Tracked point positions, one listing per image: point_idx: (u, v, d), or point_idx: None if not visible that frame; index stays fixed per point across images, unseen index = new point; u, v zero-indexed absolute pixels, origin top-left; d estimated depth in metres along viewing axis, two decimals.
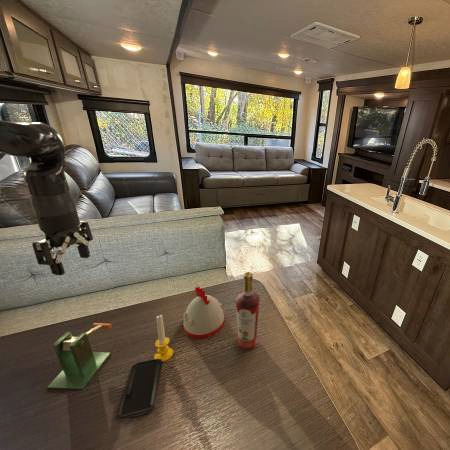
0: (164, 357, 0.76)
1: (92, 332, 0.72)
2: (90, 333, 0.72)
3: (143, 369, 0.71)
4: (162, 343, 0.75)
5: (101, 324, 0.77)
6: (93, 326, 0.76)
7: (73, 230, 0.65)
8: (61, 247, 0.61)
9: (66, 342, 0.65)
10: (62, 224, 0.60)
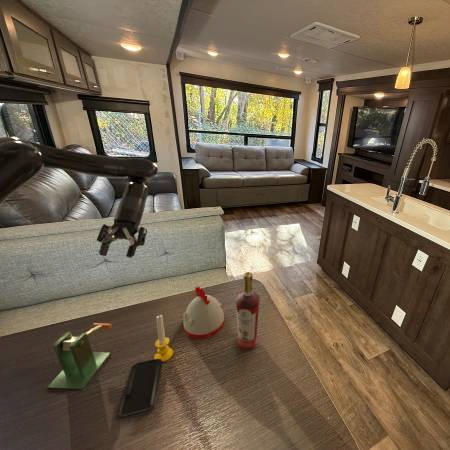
0: (164, 357, 0.76)
1: (92, 332, 0.72)
2: (90, 333, 0.72)
3: (143, 369, 0.71)
4: (162, 343, 0.75)
5: (101, 324, 0.77)
6: (93, 326, 0.76)
7: None
8: (135, 237, 0.85)
9: (66, 342, 0.65)
10: None
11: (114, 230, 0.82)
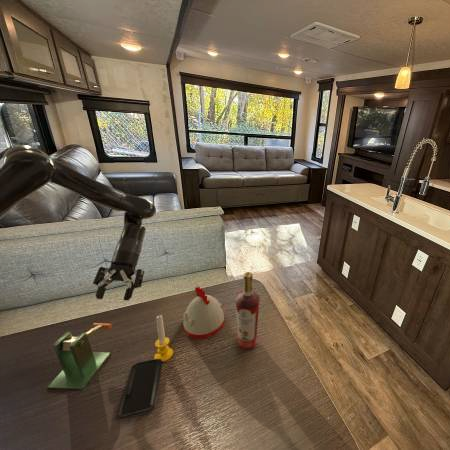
0: (164, 357, 0.76)
1: (92, 332, 0.72)
2: (90, 333, 0.72)
3: (143, 369, 0.71)
4: (162, 343, 0.75)
5: (101, 324, 0.77)
6: (93, 326, 0.76)
7: None
8: (131, 278, 0.86)
9: (66, 342, 0.65)
10: None
11: (111, 273, 0.82)
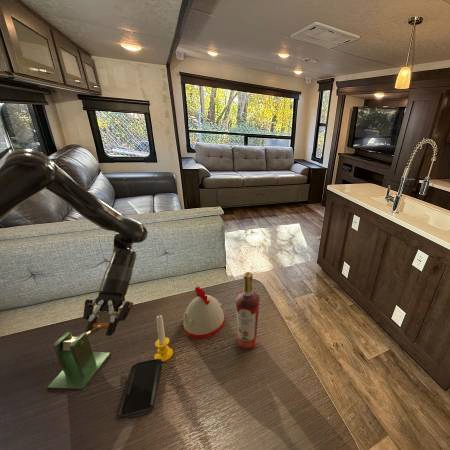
0: (164, 357, 0.76)
1: (92, 332, 0.72)
2: (90, 333, 0.72)
3: (143, 369, 0.71)
4: (162, 343, 0.74)
5: (101, 324, 0.77)
6: (93, 326, 0.76)
7: None
8: None
9: (66, 342, 0.65)
10: None
11: (99, 304, 0.78)
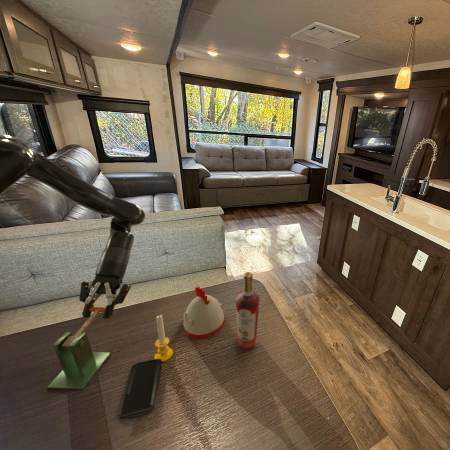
0: (164, 357, 0.76)
1: (90, 322, 0.71)
2: (88, 324, 0.71)
3: (143, 369, 0.71)
4: (162, 343, 0.74)
5: (97, 309, 0.75)
6: (90, 311, 0.75)
7: None
8: None
9: (64, 346, 0.64)
10: None
11: (95, 286, 0.76)
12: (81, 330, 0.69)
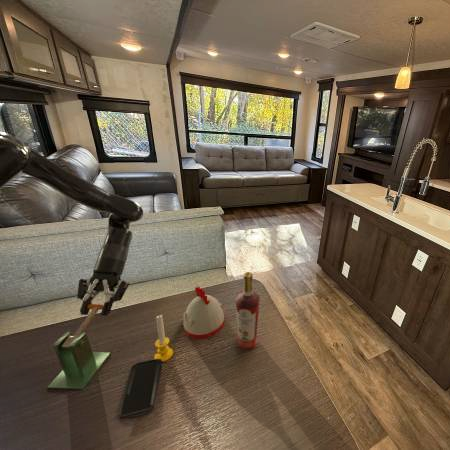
0: (164, 357, 0.76)
1: (89, 321, 0.71)
2: (87, 323, 0.70)
3: (143, 369, 0.71)
4: (162, 343, 0.74)
5: (95, 306, 0.74)
6: (88, 308, 0.74)
7: None
8: None
9: (64, 347, 0.64)
10: None
11: (93, 283, 0.75)
12: (80, 329, 0.69)
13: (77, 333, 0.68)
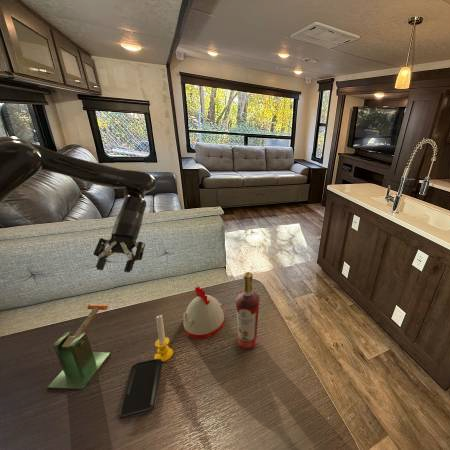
0: (164, 357, 0.76)
1: (89, 321, 0.71)
2: (87, 323, 0.70)
3: (143, 369, 0.71)
4: (162, 343, 0.74)
5: (96, 306, 0.74)
6: (88, 308, 0.74)
7: None
8: (132, 251, 0.85)
9: (64, 347, 0.64)
10: None
11: (112, 244, 0.82)
12: (80, 329, 0.69)
13: (77, 333, 0.68)
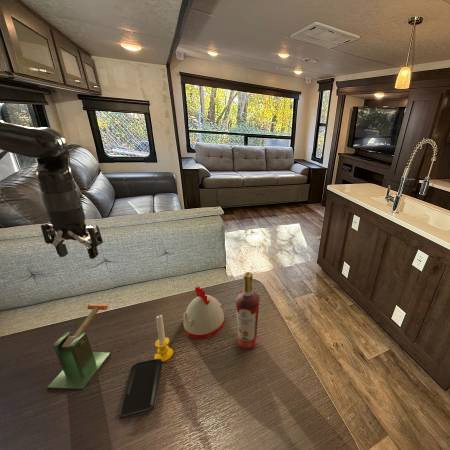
0: (164, 357, 0.76)
1: (89, 321, 0.71)
2: (87, 323, 0.70)
3: (143, 369, 0.71)
4: (162, 343, 0.74)
5: (96, 306, 0.74)
6: (88, 308, 0.74)
7: None
8: (88, 233, 0.72)
9: (64, 347, 0.64)
10: (83, 212, 0.71)
11: (59, 234, 0.69)
12: (80, 329, 0.69)
13: (77, 333, 0.68)
